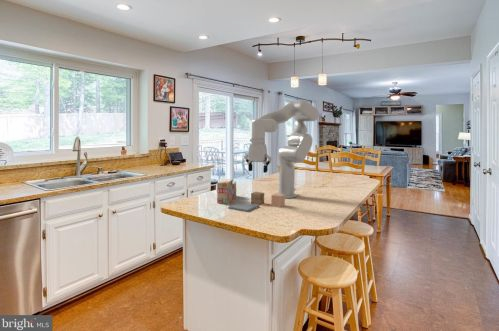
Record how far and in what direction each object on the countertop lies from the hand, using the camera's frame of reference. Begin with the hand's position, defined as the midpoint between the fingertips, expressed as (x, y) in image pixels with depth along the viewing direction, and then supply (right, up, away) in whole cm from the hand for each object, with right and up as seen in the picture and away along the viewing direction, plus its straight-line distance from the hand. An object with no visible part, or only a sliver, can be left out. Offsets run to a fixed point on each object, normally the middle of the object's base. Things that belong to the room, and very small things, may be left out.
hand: (257, 171), depth 176 cm
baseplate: (-8, -19, -8) cm, 22 cm away
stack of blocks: (-18, -17, +11) cm, 27 cm away
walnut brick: (0, -18, +2) cm, 18 cm away
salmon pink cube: (+11, -19, -2) cm, 22 cm away
